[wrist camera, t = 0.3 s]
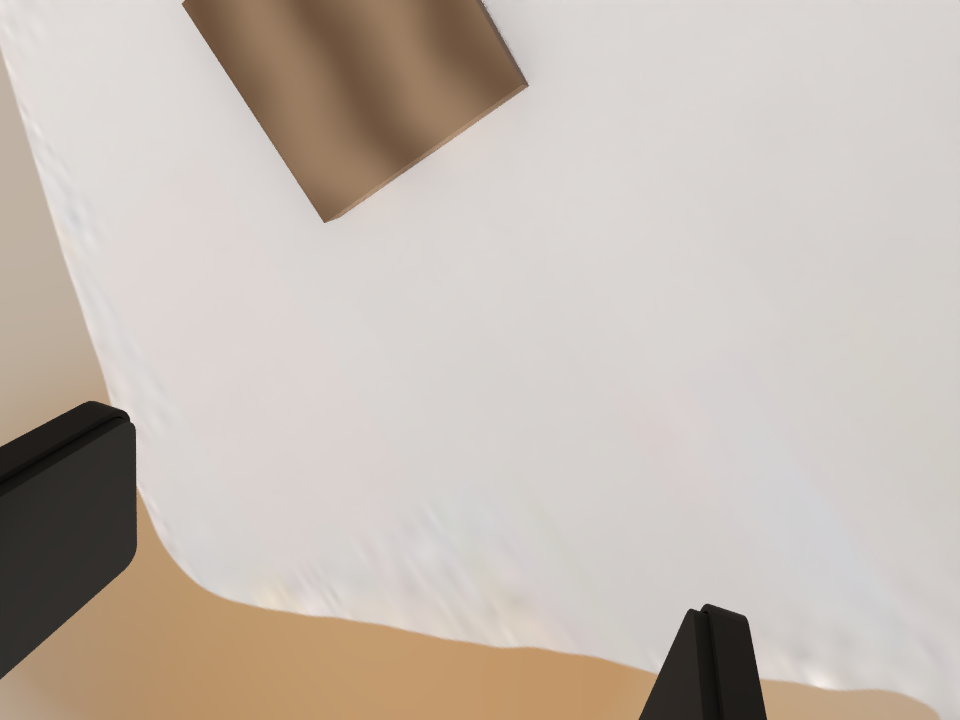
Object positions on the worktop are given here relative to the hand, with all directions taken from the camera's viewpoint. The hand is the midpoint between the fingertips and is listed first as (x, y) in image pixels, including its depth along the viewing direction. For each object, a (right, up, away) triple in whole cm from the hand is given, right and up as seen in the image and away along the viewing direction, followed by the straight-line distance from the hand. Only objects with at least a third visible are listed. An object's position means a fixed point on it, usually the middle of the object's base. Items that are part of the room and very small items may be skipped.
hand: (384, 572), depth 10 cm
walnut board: (-5, +21, +26) cm, 34 cm away
